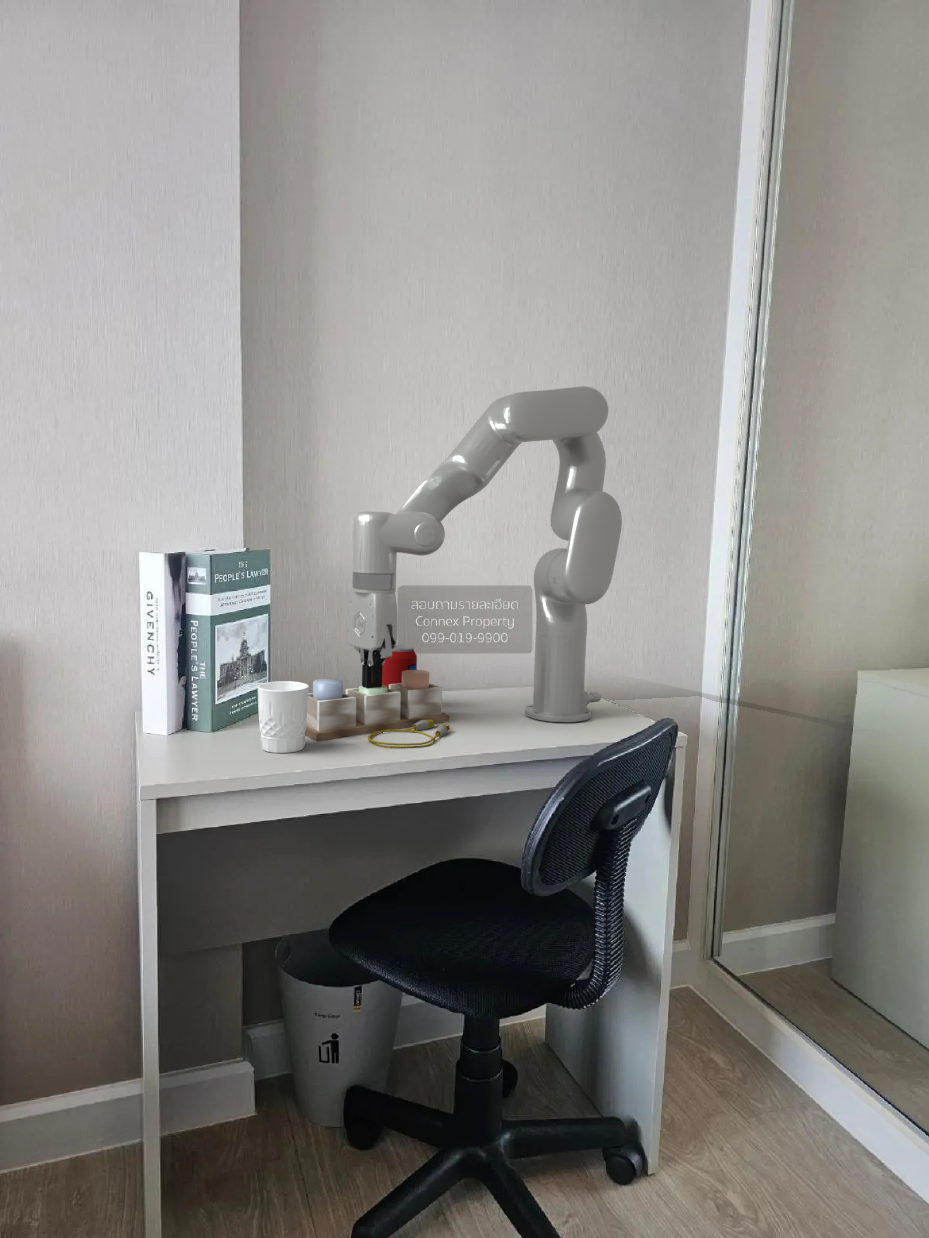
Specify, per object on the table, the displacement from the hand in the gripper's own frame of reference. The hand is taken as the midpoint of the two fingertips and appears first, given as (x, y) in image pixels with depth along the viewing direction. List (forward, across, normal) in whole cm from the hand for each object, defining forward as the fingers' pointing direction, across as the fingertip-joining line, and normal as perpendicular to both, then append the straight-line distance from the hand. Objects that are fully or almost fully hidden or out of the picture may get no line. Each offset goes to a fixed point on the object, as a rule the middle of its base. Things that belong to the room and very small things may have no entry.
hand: (371, 686), depth 158 cm
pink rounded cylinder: (+3, 0, +9) cm, 10 cm away
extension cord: (+8, +11, +1) cm, 13 cm away
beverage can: (+7, -8, +11) cm, 16 cm away
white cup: (+7, +6, -20) cm, 22 cm away
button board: (+7, 0, 0) cm, 7 cm away
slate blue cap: (+3, 0, -9) cm, 9 cm away
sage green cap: (+5, 0, 0) cm, 5 cm away
